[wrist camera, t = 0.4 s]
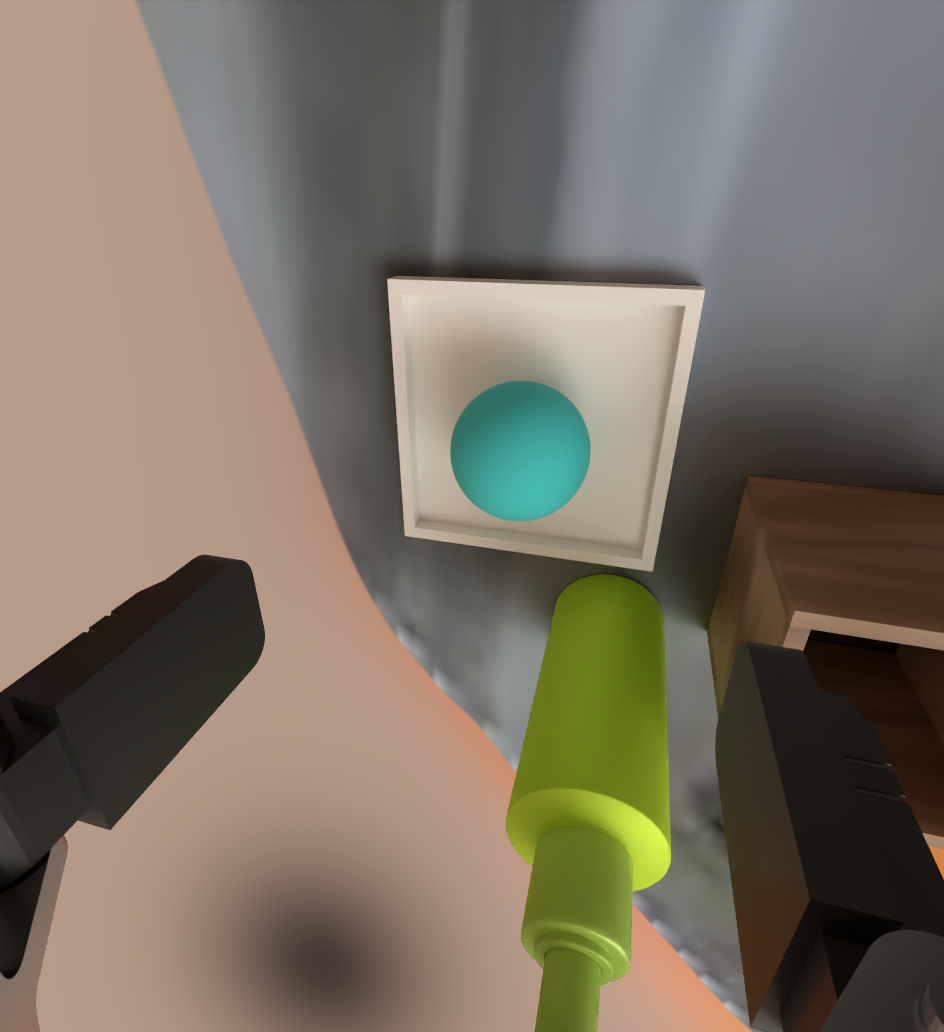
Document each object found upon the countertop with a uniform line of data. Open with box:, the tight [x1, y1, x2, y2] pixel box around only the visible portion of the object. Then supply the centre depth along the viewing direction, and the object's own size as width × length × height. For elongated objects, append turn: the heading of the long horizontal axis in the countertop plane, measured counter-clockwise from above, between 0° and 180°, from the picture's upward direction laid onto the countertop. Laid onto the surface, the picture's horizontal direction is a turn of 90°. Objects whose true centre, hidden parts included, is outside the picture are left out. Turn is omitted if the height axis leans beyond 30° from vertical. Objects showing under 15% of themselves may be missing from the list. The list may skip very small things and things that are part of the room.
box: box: [707, 475, 944, 849], centre depth 23 cm, size 10×9×10 cm
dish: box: [387, 276, 705, 572], centre depth 27 cm, size 13×13×1 cm
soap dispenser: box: [506, 574, 671, 1032], centre depth 23 cm, size 6×7×20 cm
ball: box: [450, 381, 591, 521], centre depth 25 cm, size 6×6×6 cm
